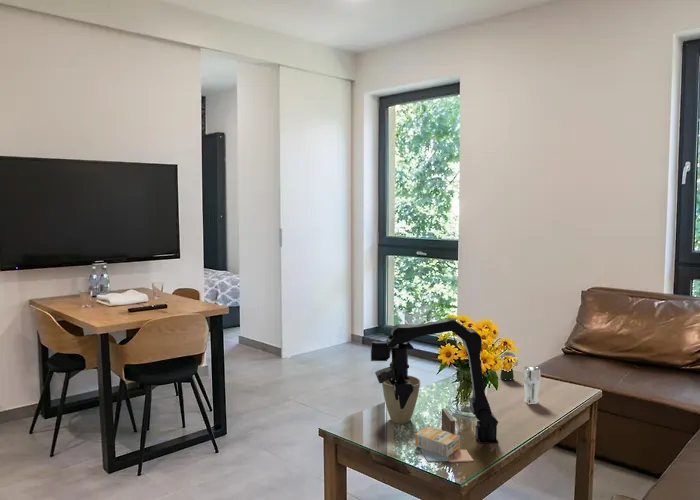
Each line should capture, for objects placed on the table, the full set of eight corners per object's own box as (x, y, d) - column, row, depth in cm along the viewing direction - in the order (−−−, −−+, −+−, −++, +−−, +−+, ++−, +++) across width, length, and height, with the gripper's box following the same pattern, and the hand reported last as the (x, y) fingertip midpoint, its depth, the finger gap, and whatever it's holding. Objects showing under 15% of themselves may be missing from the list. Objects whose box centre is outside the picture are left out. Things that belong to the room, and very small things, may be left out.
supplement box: (428, 424, 194) (460, 435, 185) (428, 437, 195) (460, 448, 186) (414, 433, 188) (447, 444, 179) (415, 446, 189) (447, 458, 180)
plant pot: (375, 423, 210) (375, 383, 209) (389, 411, 223) (390, 372, 222) (412, 430, 203) (413, 388, 202) (424, 417, 217) (425, 377, 216)
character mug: (521, 380, 263) (521, 354, 262) (513, 384, 258) (513, 357, 257) (501, 375, 271) (501, 350, 270) (493, 379, 266) (493, 352, 265)
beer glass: (541, 402, 234) (542, 367, 233) (537, 407, 228) (538, 371, 227) (525, 399, 238) (525, 365, 237) (520, 403, 232) (521, 369, 231)
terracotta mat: (466, 450, 186) (466, 449, 186) (473, 461, 178) (473, 460, 178) (443, 451, 185) (443, 450, 185) (449, 462, 177) (449, 461, 177)
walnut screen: (450, 432, 202) (450, 408, 201) (459, 445, 190) (460, 420, 189) (436, 432, 201) (437, 408, 201) (445, 446, 189) (445, 421, 189)
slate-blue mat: (449, 447, 189) (449, 446, 189) (457, 460, 179) (457, 459, 179) (420, 448, 188) (420, 447, 188) (427, 462, 178) (427, 460, 178)
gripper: (373, 354, 201) (373, 396, 203) (381, 369, 183) (380, 414, 184) (403, 353, 203) (402, 395, 204) (413, 368, 184) (413, 413, 185)
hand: (399, 404), depth 194 cm, fingers open, 9 cm apart
